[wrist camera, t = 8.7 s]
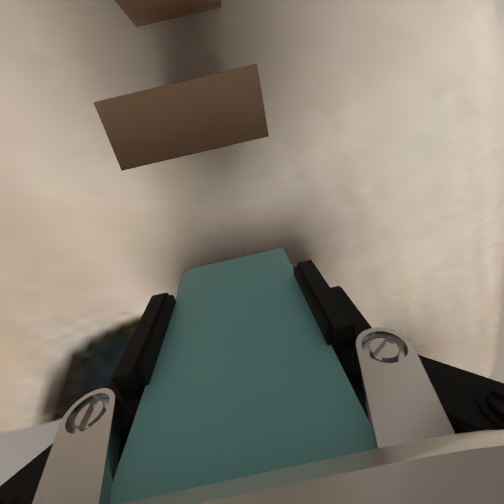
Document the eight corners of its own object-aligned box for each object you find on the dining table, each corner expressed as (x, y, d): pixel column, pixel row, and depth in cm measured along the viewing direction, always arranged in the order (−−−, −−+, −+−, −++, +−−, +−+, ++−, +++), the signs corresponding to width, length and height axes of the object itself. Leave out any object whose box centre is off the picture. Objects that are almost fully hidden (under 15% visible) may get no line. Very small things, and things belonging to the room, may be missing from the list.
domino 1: (166, 122, 17) (93, 102, 8) (240, 104, 17) (256, 63, 8) (176, 154, 18) (121, 170, 8) (247, 137, 17) (268, 136, 8)
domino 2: (185, 269, 13) (73, 595, 4) (283, 247, 13) (419, 521, 4) (197, 301, 14) (129, 634, 4) (288, 281, 14) (411, 575, 4)
